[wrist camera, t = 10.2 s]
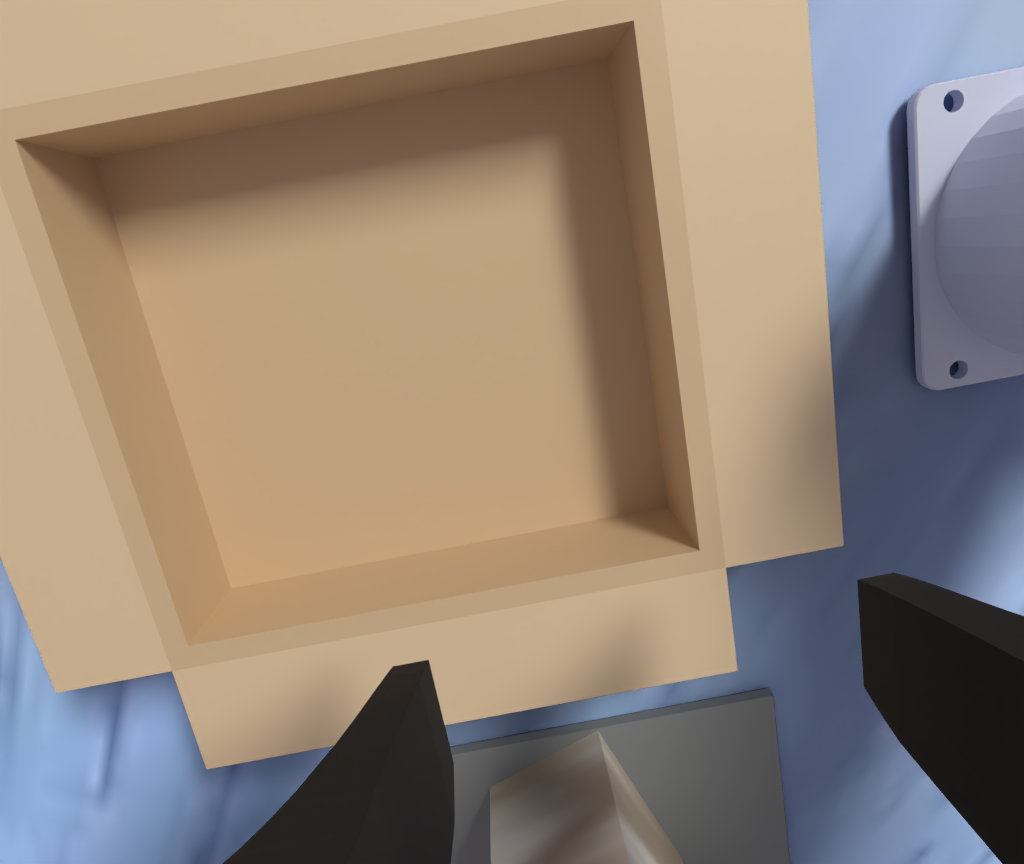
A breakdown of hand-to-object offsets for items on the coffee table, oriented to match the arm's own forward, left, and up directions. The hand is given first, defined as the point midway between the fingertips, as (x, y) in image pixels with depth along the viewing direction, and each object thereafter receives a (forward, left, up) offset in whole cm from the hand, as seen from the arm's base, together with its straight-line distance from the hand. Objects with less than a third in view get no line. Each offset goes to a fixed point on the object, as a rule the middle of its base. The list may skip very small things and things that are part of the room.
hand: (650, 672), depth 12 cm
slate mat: (+1, +13, -9) cm, 16 cm away
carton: (+4, -5, -9) cm, 11 cm away
